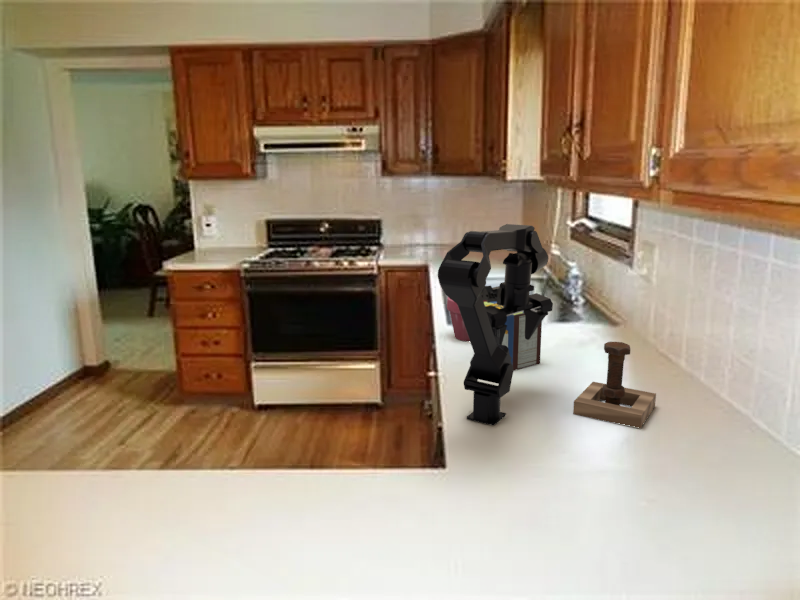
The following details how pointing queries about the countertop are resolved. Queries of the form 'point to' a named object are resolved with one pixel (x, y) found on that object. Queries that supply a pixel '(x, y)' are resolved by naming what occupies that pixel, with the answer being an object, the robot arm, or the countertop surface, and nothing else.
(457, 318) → the plant pot
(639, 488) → the countertop surface
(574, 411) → the block
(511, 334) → the protein box
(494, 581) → the countertop surface
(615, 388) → the bolt
